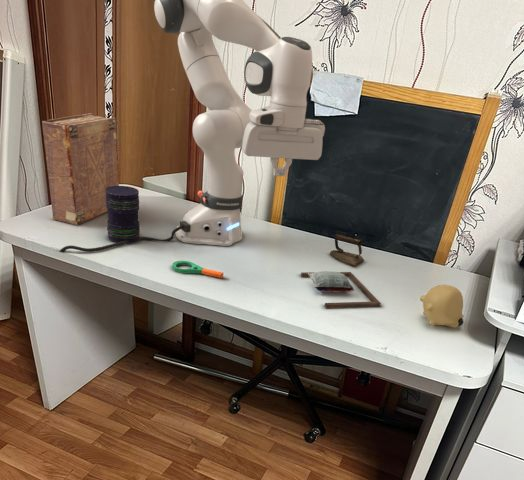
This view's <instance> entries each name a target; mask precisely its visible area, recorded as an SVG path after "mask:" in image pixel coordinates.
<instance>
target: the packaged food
mask: <svg viewBox="0 0 524 480" xmlns="http://www.w3.org/2000/svg"><path fill="white" fill-rule="evenodd" d="M314 272H315V273H312V274H309V273H308V275H309V276H310V277H309V278H310V279H311V280H312V282H313V284H314V285H315V286H314V287H313V288H314V289H316V290H317V291H318V292H319V293H348V292H355V288H354V287H353V286H352V283H351V282H350V280H349V279H348V278H349V277H348V276H347V277H346V276H345V275H344V274H342V273H340V272H341V271H331V270H330V271H328V270H327V271H326V270H322V271H314Z"/></svg>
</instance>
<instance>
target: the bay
mask: <svg viewBox="0 0 524 480" xmlns="http://www.w3.org/2000/svg"><path fill="white" fill-rule="evenodd" d="M315 272H316V271H314V272H313V271H312V272H311V271H309V272H307V271H305V272H304V271H303V272H302V271H301V272H300V276H301V278H311V277H310V276H309V275H308V273H309V274H312V273H315ZM339 272H340V273H342V274H344V275H345V276H346V277H347V278H349V279H350V280H351V282H352V283H354V284H355V286H356V287H357V288H358V289H359V290H360V291H361V292H362V293H363V295H365V296H366V298H368V299H369V300H370V301H345V302H341V301H340V302H325V303H324V308H325V309H345V308H347V309H348V308H371V307H373V308H374V307H381V305H382V303H381V302H380V300H378V298H377V297H376V296H374V295H373V293H372V292H371V291H370V290H369V289H368V288H367V287H366V286H365V285H364V284H363V283H362V282H361V280H359V279H358V278H357V277H356V276H355V275H354V274H353V273H352V272H351V271H339Z"/></svg>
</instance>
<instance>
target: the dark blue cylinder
mask: <svg viewBox="0 0 524 480" xmlns="http://www.w3.org/2000/svg"><path fill="white" fill-rule="evenodd" d="M105 191H106V208H107V212H106V213H107V221H106V230H107V234H108V235H107V239H108V240H109V241H110V242H112V243H113V244H114V243H118V242H122V241H125V240H128V241H129V242H128V243H126V244H125V245H130V244H135V243H137V242H139V241H140V240H137V238H138V237H141V236H140V234H141V233H140V232H141V228H140V226H141V225H140V220H139V211H140V194H139V193H140V192H139V189H137V188H135V187H133V186H128V185H127V186H126V185H119V186H111V187H108V188H106V189H105Z"/></svg>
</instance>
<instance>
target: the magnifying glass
mask: <svg viewBox="0 0 524 480" xmlns="http://www.w3.org/2000/svg"><path fill="white" fill-rule="evenodd" d="M171 266H172V270H173V271H175V272H177V273H181V274H199V275H205V276H210V277H215V278H219V279H222V278H223V277H224V272H222V271H219V270H213V269H209V268H204V267H202V266H200V265H198V264H197V263H194V262H192V261H190V260H189V261H188V260H176V261H173V262H172V265H171ZM178 266H188V267H190V268H181V267H178Z"/></svg>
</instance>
